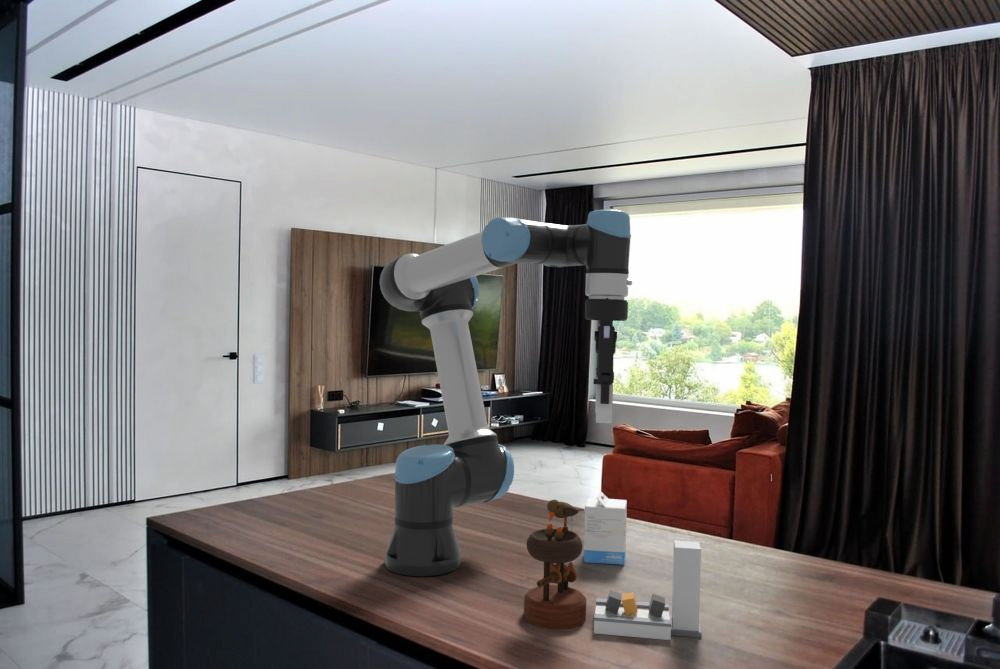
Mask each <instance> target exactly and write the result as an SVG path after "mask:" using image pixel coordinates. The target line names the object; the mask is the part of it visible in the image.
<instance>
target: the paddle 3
mask: <svg viewBox="0 0 1000 669" xmlns="http://www.w3.org/2000/svg"><path fill="white" fill-rule="evenodd" d="M650 598H651V599H650V604H649V614H652V615H654V616H657V617H660V618H661V616H662V613H663V610H664V607H665V604H666V598H665V597H664V596H661V595H658V594H655V593H652V595H651V597H650Z"/></svg>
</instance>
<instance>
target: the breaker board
mask: <svg viewBox="0 0 1000 669" xmlns="http://www.w3.org/2000/svg"><path fill="white" fill-rule="evenodd" d="M606 602H607V598H601V597H597V598H596V600H595V612H594V616H593V617H594V618H593V634H596V635H597V634H598V635H608V636H619V637H631V638H632V637H633V638H640V639H643V638H644V639H652V640H653V639H655V640H662V641H663V640H665V641H671V638H672V635H671V620H670V619H671V617H670V610H669V609H670V606H669V603H665V607H664V610H663V613H662V616H661V618H660V617H657V616H654V615H652V614H649V604H650V602H649V601H637V600H636V603H637V612H638V613H633V614H627V615H625V611H624V607H623V603H622V599H621V603H620V607H619V610H618V613H617V614H615V613H613V612H610V611H607V610H605V608H606Z"/></svg>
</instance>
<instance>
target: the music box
mask: <svg viewBox="0 0 1000 669" xmlns="http://www.w3.org/2000/svg"><path fill="white" fill-rule="evenodd" d="M546 505H547V506H546V509H547V510H548V512H549V514H548V515H549V518H548V519H549V522H551V521H552V519H553V518H554V517H556V518H558V519H563V526H559V527H558V528H557V527H556V528H553V524H552V523H550V524H547V525H546V528H543V529H542V528H541V529H537V530H535V531H533V532H531V533H530V534H529V535H528V537H527V540H526V549H527V552H528V554H529V555H530V556H531V557H532V558H533V559H534V560H537V561H538V562H542V563H543V578H542V579H539V580H538V581H536V586H535V587H532V588H531V589H529V590H528V591H527V592H526V593H525V594H524V596H523V617H524V619H525V620H526V621H527V623H530V624H532V625H534V626H537V627H540V628H545V629H553V630H555V629H556V630H559V629H561V630H563V629H572V628H576V627H578V626H581V625H583V624H584V622H585V621H586V619H587V597H586V596H585V595H584V594H583V593H582V592H581V591H580V590H578V589H576V588H573V587H570V586H569V583H574V582H576V581H577V579H578V573H577V571H576V568H575V566H574V563H573V561H575V560H577V559H578V558H579V557H580V556H581V554H582V552H583V548H584V546H583V545H584V544H583V540H582V539H581V537H580V536H579V534H577V533H576V532H574V531H573V521H574V519H573V517H574V516H575V515H577V514H579V512H582V511H583V512H585V508H581V507H577V506H576V507H575V506H573V505H572V504H570V503H568V502H565V501H559V500H557V499H551V500H549V501H548V503H547V504H546ZM569 517H570V518H571V519H570V522H571V528H570V530H569V527H568V525H567V524H568V518H569ZM565 563H568V564H565ZM555 584H556V585H555Z"/></svg>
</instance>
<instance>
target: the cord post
mask: <svg viewBox="0 0 1000 669" xmlns="http://www.w3.org/2000/svg"><path fill="white" fill-rule="evenodd" d="M701 557H702V547H701V544H700V541H691V540H688V541H687V540H675V539H674V540H673V558H672V559H673V560H672V562H673V563H672V596H671V597H672V598H671V599H672V600H671V601H672V602H671V603H672V605H671V618H670V620H671V636H680V637H688V638H689V637H691V638H702V636H703V635H702V634H703V633H702V628H701V624H700V607H701V606H700V604H701V603H700V600H701V599H700V598H701V596H700V595H701V564H702V563H701V561H702V558H701Z"/></svg>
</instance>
